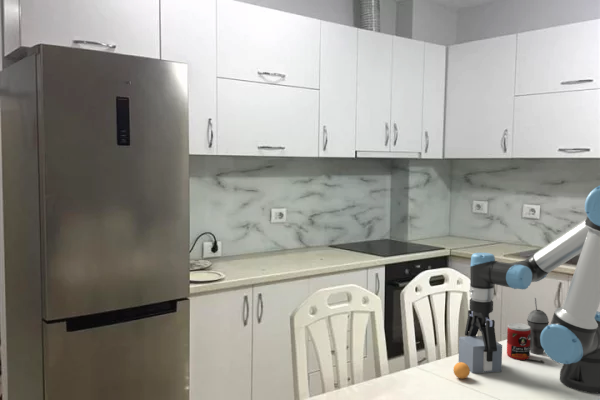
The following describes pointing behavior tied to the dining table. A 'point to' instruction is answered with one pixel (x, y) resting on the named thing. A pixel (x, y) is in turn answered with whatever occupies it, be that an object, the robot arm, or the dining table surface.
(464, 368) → the ball
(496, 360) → the slate blue cube
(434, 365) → the dining table surface
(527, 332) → the canned food
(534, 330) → the beverage cup
